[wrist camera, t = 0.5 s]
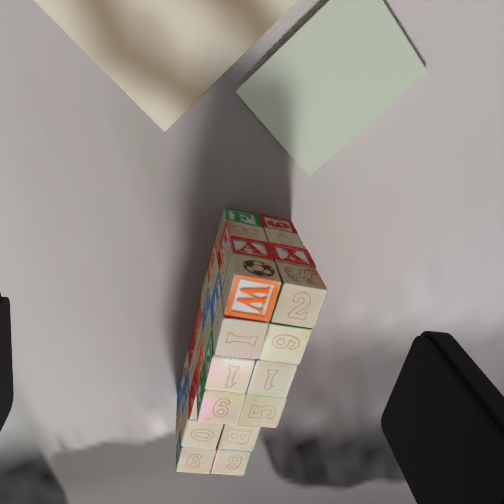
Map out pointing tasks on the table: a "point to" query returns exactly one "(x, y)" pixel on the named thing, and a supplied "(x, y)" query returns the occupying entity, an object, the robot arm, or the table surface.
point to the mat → (332, 79)
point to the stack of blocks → (244, 341)
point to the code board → (165, 43)
